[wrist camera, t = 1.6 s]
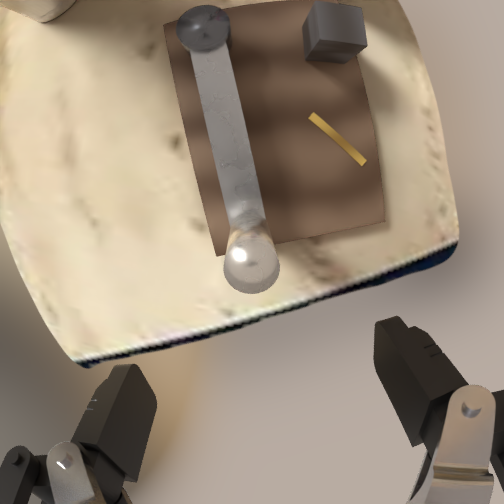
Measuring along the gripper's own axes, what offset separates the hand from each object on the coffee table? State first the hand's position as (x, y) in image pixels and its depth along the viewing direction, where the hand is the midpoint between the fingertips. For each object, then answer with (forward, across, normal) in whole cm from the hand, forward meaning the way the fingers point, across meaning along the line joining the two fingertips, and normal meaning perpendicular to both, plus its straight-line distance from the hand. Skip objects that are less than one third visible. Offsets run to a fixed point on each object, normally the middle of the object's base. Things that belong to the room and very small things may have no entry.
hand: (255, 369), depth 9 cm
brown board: (+22, -5, -10) cm, 25 cm away
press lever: (+20, 0, -9) cm, 22 cm away
